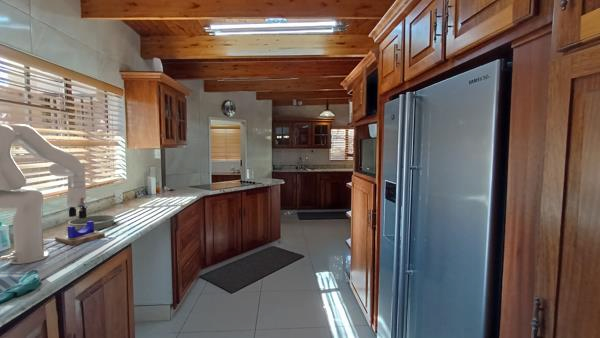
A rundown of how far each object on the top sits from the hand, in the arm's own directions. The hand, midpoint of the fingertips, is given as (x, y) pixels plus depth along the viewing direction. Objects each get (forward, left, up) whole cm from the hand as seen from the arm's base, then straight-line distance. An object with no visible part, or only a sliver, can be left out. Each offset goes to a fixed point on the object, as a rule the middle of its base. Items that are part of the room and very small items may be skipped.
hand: (77, 217), depth 159 cm
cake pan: (+19, +22, -13) cm, 32 cm away
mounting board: (+1, 0, -12) cm, 12 cm away
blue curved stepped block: (+1, 0, -10) cm, 10 cm away
